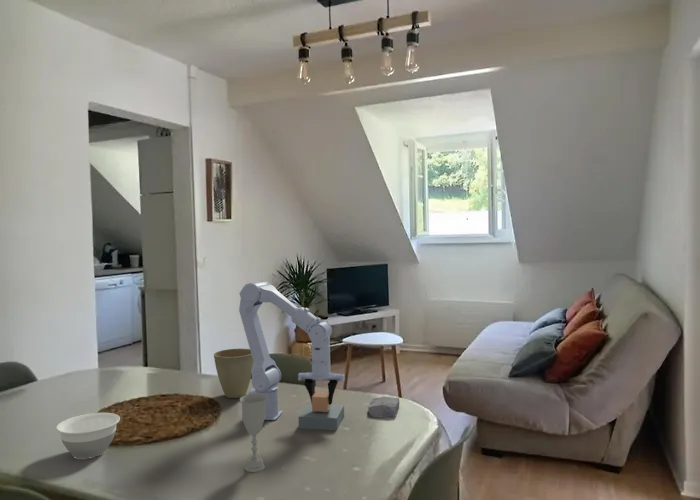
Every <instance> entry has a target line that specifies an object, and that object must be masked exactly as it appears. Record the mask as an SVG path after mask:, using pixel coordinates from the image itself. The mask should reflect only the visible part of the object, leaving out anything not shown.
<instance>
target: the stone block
mask: <svg viewBox="0 0 700 500" xmlns="http://www.w3.org/2000/svg"><path fill="white" fill-rule="evenodd" d="M367 408H368V413H369V415H370V417H375V418H376V417H379V418H382V417H386V418H395V417H396V416H397V414H398V410H399V408H400V398H399V397H393V396H381V397H375V398H372V399H371V401H370V402H369V404H368V406H367Z"/></svg>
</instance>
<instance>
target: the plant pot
mask: <svg viewBox="0 0 700 500" xmlns="http://www.w3.org/2000/svg"><path fill="white" fill-rule="evenodd" d="M213 358H214V364H215V365H214V366H215V368H216V374H217V377H218V380H219V384H220V385H221V388H222V391H223V394H224V396H225V398H227V399H238V398H239V399H240V398H241V397H243V396H245V395H247V392H248V390H249V387H250V382H251V380H252V372H251V369H252V366H253V364H254V362H253V358H252V354H251V351H250V348H229V349H221V350H219V351H215V352H214V353H213Z"/></svg>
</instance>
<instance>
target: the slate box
mask: <svg viewBox="0 0 700 500" xmlns="http://www.w3.org/2000/svg"><path fill="white" fill-rule="evenodd" d="M344 417H345V405H343V404H342V405H341V404H331V407H330V409H329V411H328V412H320V411H312V404H311V403H308V404H307V405H306V406H305V407H304V409H302V411H301V413H300V414H299V416H298V429H307V430H327V431H328V430H329V431H330V430H331V431H338V430H339V427H340V425H341V423H342V422H343V420H344Z"/></svg>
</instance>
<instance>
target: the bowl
mask: <svg viewBox="0 0 700 500" xmlns="http://www.w3.org/2000/svg"><path fill="white" fill-rule="evenodd" d="M120 421H121V416H120V415H118V414H116V413H113V412H92V413H86V414H81V415H76V416H73V417H69V418H67V419H64V420H62V421H61V422H59V423H58V424H57V425H56V426H55V431H57V433H60V438H61V443H62V444H63V446H64V447H65V448H66V450H68V452H69V453H70V454H71V456H73V457H76V458H89V457H94V456H97V457H99V456H98V455H100V454H102V453H104V452H105V453H106V452H107V451H106V450H108V448H109V446H110V445H111V444H112V442H113V441H114V440H113V439H114V437H115V434H116V430H117V424H118V423H119V422H120ZM105 453H104V454H105ZM102 455H103V454H102ZM100 456H101V455H100ZM73 457H72V458H73ZM94 458H95V457H94Z"/></svg>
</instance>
